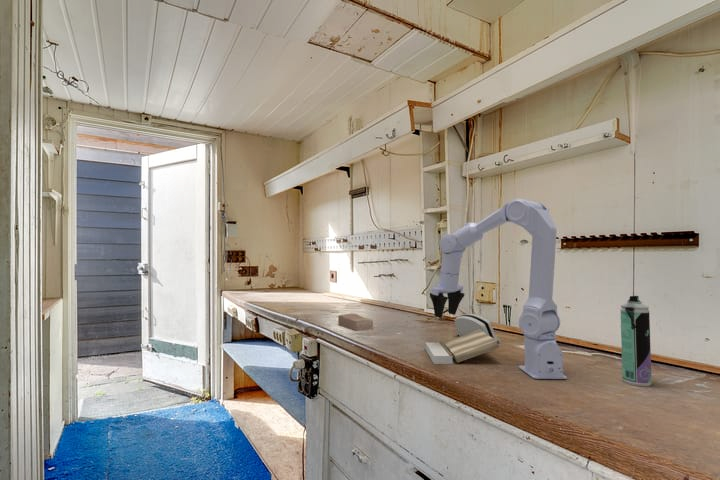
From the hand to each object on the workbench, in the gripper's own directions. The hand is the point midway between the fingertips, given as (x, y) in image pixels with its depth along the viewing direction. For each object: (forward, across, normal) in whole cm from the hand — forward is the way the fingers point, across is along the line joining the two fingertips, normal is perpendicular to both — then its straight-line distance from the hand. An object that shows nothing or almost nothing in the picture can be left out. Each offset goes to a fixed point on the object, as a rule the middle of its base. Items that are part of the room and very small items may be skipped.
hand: (445, 315), depth 120 cm
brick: (+18, -6, -46) cm, 49 cm away
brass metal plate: (+7, +2, +11) cm, 13 cm away
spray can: (+4, -5, +50) cm, 50 cm away
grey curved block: (+11, -20, +1) cm, 23 cm away
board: (+10, +9, +5) cm, 14 cm away
